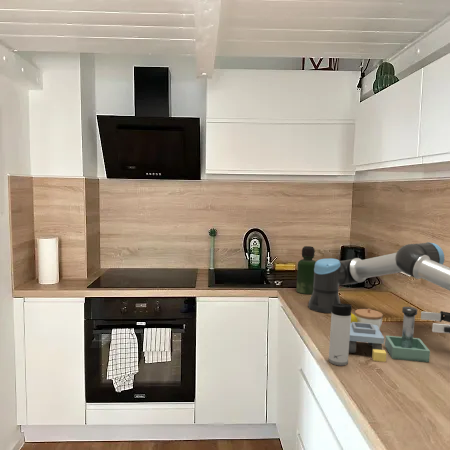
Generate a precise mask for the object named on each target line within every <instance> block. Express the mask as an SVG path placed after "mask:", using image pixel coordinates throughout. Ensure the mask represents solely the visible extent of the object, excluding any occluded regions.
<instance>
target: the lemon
mask: <svg viewBox="0 0 450 450" xmlns="http://www.w3.org/2000/svg"><path fill="white" fill-rule="evenodd" d="M352 322H357V318H356V316H355V313H352V312H351V323H352Z"/></svg>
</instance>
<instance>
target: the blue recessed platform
mask: <svg viewBox="0 0 450 450" xmlns="http://www.w3.org/2000/svg"><path fill="white" fill-rule="evenodd" d="M357 342H358V343H359V342H360V343H367V344H368V346H371V350H372V349H379V350H383V345H385V337H384V335H383V333H382V332H381V330H380V328H378V326H377V325H373V324H371V323H360V322H352V323H351V325H350V339H349V353H353V354H356V352H357Z"/></svg>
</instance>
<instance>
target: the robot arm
mask: <svg viewBox="0 0 450 450" xmlns="http://www.w3.org/2000/svg"><path fill="white" fill-rule="evenodd" d="M315 261H316V263H315V268H314V285H313V293H312V294H310V295H311V296H310V298H309V301H308V308H309V309H310V310H311V311H315V312H318V313H325V314H332V305H333V304H342V302H341V299H340V296H339V286H344V285H355V284H358V283H363V282H365V281H366V279H368V278H375V277H380V276H386V275H387V276H388V275H392V274H397V273H404V274H406V275H408V276H410V277H412V278H414V279H417V280H420V279H423V280H425V281H428V282H430V283H432V284H434V285H436V286H438V287H441V288H443V289H444V290H447V291H449V292H450V267H449V266H447V265H444V263H445V254H444V250H443V249H442V247H440V246H439V244H436V243H433V242H428V241H427V242H422V243H408V244H404V245H402V246H401V247H400V248H399V249H398V250H397V251H396V252H393V253H388V254H384V255H380V256H374V257H370V258H366V259H361V258H359V257H354V258H351V259H346V260H339V259H337V258H330V257H329V258H321V259H318V260H315ZM420 320H423V321H424V320H425V321H426V320H427V321H435V322H436V321H437V322H439V323H434V322H433V323H432V328H431V331H432V333H441V334H450V324H445V323H441V322H442V321H444V322H448V323H450V312H447V311H444V310H440V312H430V311H421V312H420Z"/></svg>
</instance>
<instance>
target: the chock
mask: <svg viewBox="0 0 450 450" xmlns="http://www.w3.org/2000/svg"><path fill="white" fill-rule="evenodd" d="M371 351H372V352H371V358H372V360H373V362H383V363H386V362H387V354H388V352H386V350H385V349H382V350H379V349H372V348H371Z"/></svg>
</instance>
